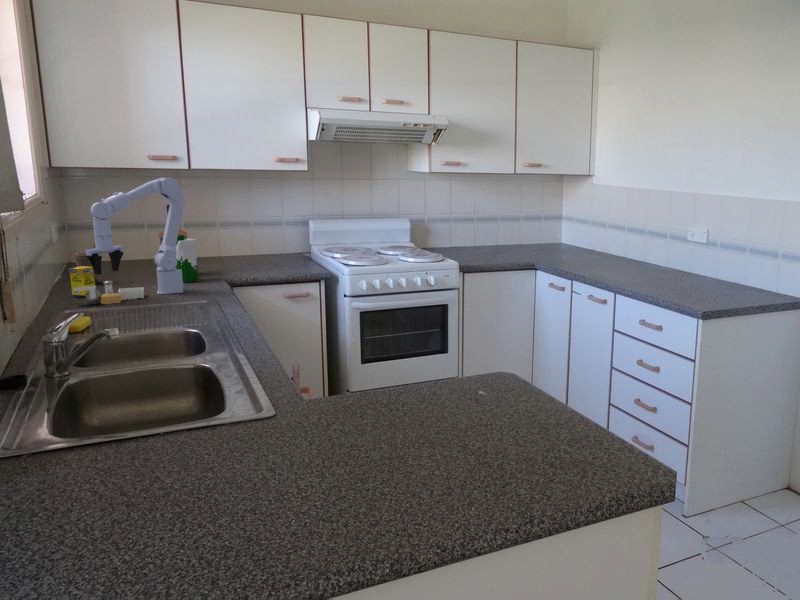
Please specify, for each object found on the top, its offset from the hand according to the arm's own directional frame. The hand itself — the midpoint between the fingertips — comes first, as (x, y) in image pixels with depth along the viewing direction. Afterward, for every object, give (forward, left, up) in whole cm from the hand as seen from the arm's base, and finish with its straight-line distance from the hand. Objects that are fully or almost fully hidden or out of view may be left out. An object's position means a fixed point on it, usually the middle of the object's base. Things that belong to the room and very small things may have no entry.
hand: (107, 272), depth 225 cm
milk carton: (-29, -29, -10) cm, 42 cm away
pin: (0, 0, -10) cm, 10 cm away
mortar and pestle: (+8, -37, -10) cm, 39 cm away
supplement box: (+9, -11, -10) cm, 17 cm away
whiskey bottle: (-25, -44, -10) cm, 51 cm away
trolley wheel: (+6, +7, -10) cm, 14 cm away
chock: (-1, +7, -10) cm, 12 cm away
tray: (-8, 0, -10) cm, 12 cm away
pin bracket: (0, 0, -10) cm, 10 cm away
